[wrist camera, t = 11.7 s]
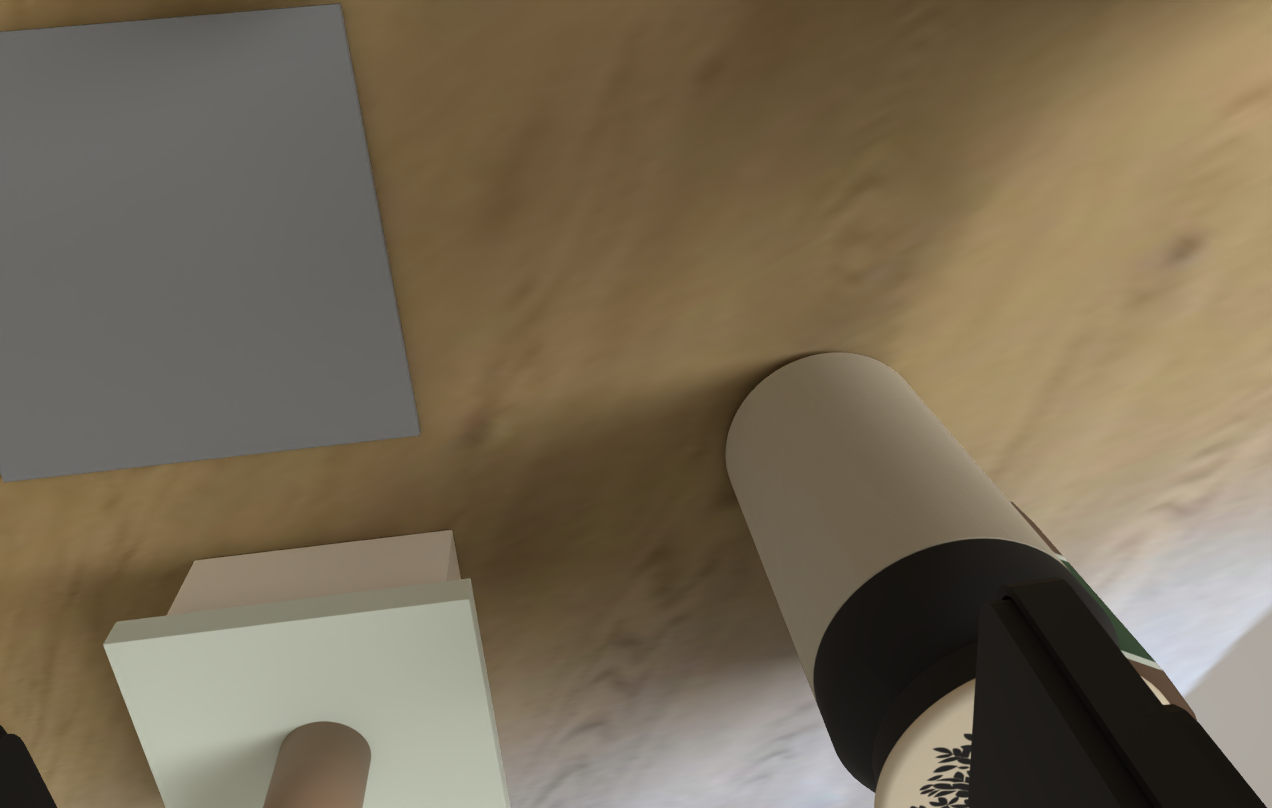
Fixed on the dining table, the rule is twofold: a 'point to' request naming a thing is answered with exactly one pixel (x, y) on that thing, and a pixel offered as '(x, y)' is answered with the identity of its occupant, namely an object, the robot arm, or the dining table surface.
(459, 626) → the lid
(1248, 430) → the dining table surface
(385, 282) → the mat
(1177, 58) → the dining table surface
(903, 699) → the travel mug
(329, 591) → the white open storage bin
